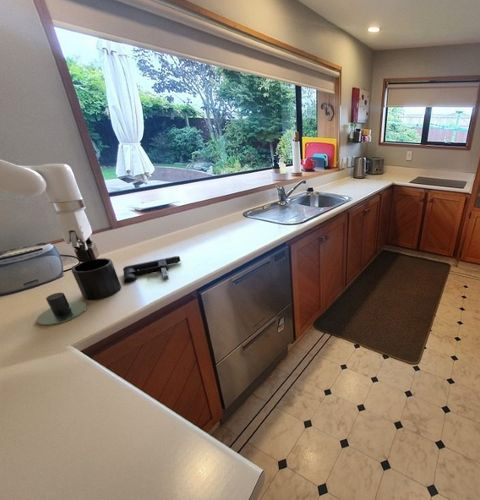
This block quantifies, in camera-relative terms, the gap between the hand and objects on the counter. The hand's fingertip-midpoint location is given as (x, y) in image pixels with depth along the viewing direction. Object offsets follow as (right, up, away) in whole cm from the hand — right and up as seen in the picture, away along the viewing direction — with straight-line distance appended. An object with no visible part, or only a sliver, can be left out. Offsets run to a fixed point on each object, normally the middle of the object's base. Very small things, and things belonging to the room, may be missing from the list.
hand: (89, 257), depth 94 cm
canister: (0, -13, +6) cm, 14 cm away
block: (0, 0, 0) cm, 0 cm away
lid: (-3, -18, -6) cm, 19 cm away
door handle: (+8, -7, +20) cm, 23 cm away
